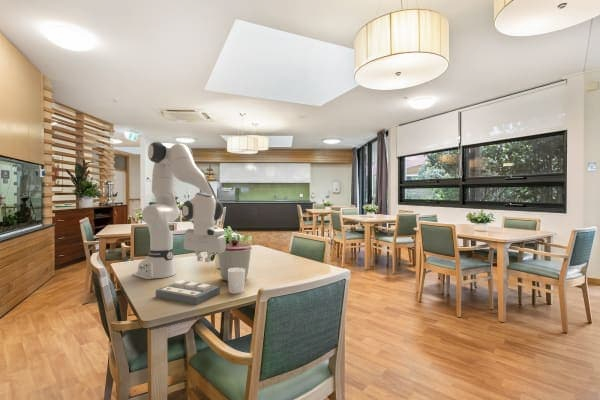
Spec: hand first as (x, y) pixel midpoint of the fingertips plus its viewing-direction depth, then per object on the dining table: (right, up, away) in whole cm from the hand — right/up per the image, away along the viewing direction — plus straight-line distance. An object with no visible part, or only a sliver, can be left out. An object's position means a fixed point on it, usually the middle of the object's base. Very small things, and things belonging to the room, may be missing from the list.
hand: (203, 261), depth 128 cm
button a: (-12, -13, +5) cm, 18 cm away
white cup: (+13, -15, +7) cm, 21 cm away
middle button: (-6, -13, +3) cm, 15 cm away
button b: (0, -13, 0) cm, 13 cm away
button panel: (-7, -15, +1) cm, 17 cm away
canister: (+7, -15, +26) cm, 31 cm away
